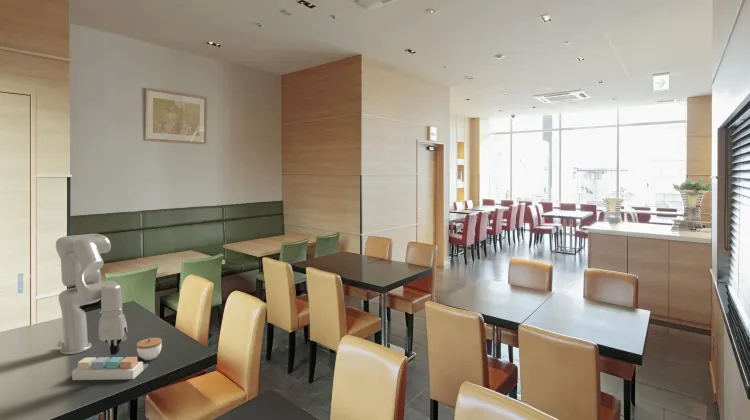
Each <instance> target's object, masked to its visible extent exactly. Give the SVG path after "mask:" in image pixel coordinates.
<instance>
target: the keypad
mask: <svg viewBox="0 0 750 420" xmlns="http://www.w3.org/2000/svg"><path fill="white" fill-rule="evenodd" d="M148 367H149V364H148V363H144V362H143V361H138V364H137V365H136V366H135V367H133V368H132V369H120V368H119V369H106V368H105V369H96V370H92V368H91V369H90V370H78V366H77V367H76V368H75V369H74V368H73V370H72V371H71V376H72V377H71V378H72V379H71V380H72V381H93V380H94V381H95V380H96V381H99V380H103V381H104V380H134V379H136V378H137V377H138V376H139V375H140V374H141V373H142V372H143V371H145V370H146V369H147V368H148Z"/></svg>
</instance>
